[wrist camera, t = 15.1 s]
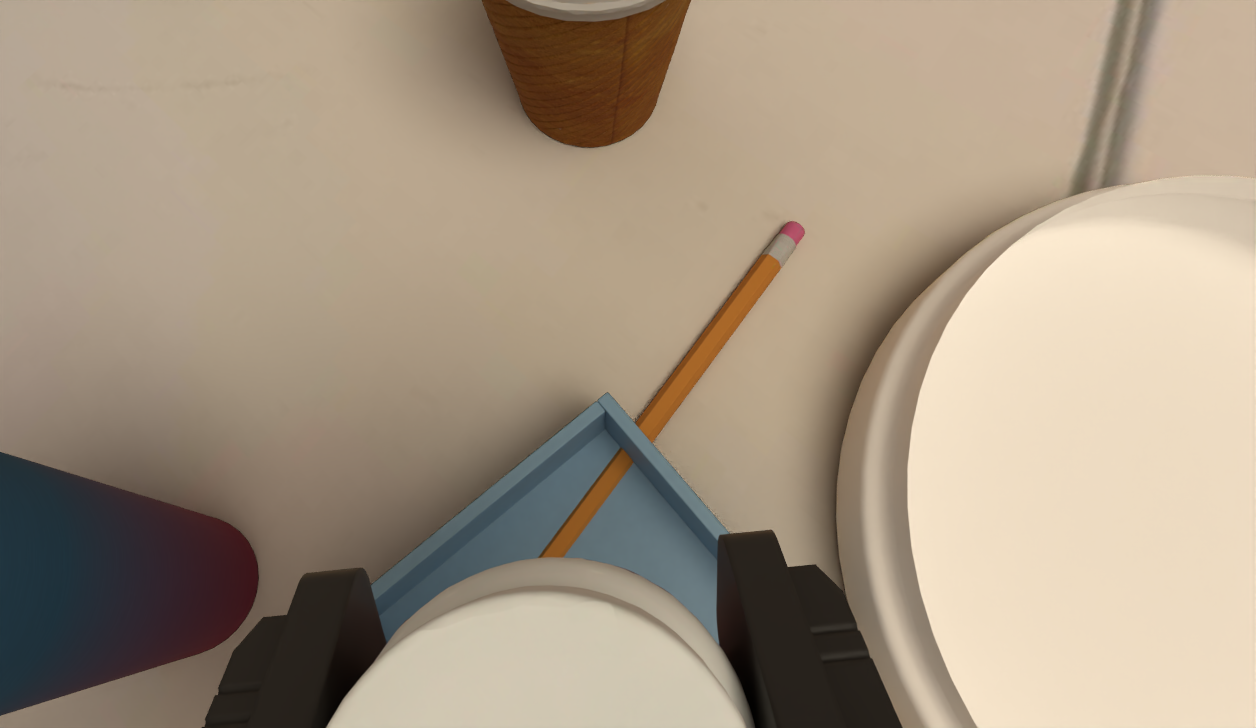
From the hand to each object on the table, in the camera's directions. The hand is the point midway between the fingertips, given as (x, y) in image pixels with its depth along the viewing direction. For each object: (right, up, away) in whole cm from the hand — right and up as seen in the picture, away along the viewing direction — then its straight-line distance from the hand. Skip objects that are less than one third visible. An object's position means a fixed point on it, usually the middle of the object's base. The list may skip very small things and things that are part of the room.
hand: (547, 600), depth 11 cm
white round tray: (+23, -3, +21) cm, 31 cm away
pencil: (+3, +2, +21) cm, 22 cm away
